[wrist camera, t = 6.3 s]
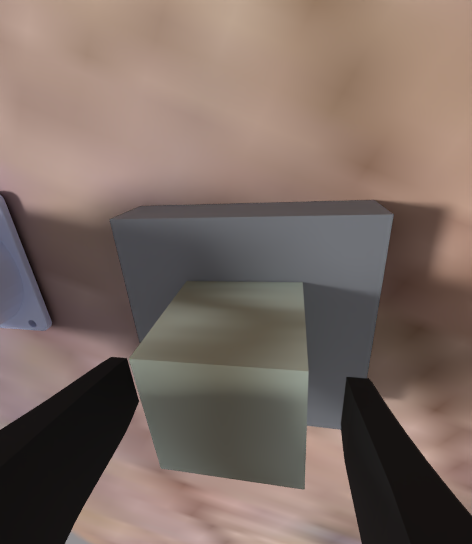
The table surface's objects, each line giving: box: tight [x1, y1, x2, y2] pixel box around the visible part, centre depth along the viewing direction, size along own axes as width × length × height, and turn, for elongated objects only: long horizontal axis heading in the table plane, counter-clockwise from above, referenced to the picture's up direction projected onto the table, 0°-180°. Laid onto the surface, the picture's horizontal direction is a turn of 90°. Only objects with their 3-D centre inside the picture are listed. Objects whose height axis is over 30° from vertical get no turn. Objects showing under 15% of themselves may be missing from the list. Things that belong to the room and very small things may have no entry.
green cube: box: [129, 281, 309, 489], centre depth 10 cm, size 4×4×4 cm
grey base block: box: [110, 200, 394, 430], centre depth 13 cm, size 10×10×3 cm
